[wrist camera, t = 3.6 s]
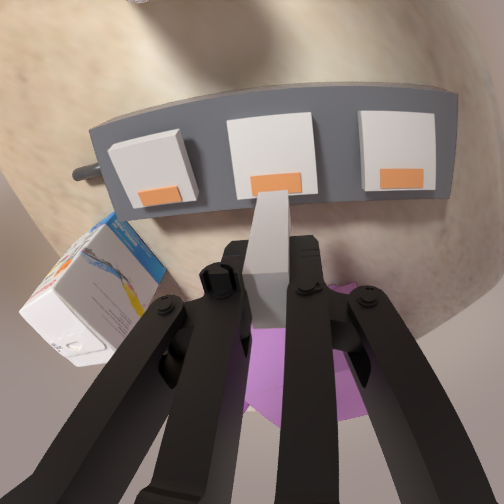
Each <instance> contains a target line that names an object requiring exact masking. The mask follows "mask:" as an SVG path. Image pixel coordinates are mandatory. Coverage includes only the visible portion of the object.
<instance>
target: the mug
mask: <svg viewBox="0 0 504 504" xmlns="http://www.w3.org/2000/svg"><path fill="white" fill-rule="evenodd" d="M127 1H129V2H132V3H138V4H139V3H144V2H147V1H149V0H127Z"/></svg>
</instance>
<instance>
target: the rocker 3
mask: <svg viewBox="0 0 504 504" xmlns="http://www.w3.org/2000/svg"><path fill="white" fill-rule="evenodd" d="M357 114H358V125H359V138H360V155H361V178H362V188H363V189H364V191H391V190H435V183H436V139H435V118H434V114H431V113H418V112H400V111H357Z"/></svg>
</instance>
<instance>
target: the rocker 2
mask: <svg viewBox="0 0 504 504" xmlns="http://www.w3.org/2000/svg"><path fill="white" fill-rule="evenodd" d="M227 129H228V136H229V143H230V151H231V158H232V165H233V172H234V180H235V187H236V194H237V200H240V199H251V198H257V197H258V192H268V191H280V190H288V196H289V195H303V194H318V187H317V172H316V160H315V148H314V137H313V127H312V117H311V112H304V113H290V114H278V115H268V116H259V117H250V118H242V119H234V120H227Z"/></svg>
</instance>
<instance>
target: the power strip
mask: <svg viewBox="0 0 504 504" xmlns="http://www.w3.org/2000/svg"><path fill="white" fill-rule="evenodd" d="M357 111H400V112H418V113H431V114H434V118H435V139H436V183H435V190H391V191H364V189H363V188H362V178H361V155H360V138H359V125H358V114H357ZM304 112H311V117H312V127H313V137H314V148H315V160H316V172H317V187H318V194H303V195H289V196H288V197H289V205H295V204H311V203H328V202H347V201H370V200H399V199H450V192H451V185H452V178H453V170H454V161H455V150H456V138H457V119H458V94H457V93H454V92H451V91H447V90H444V89H440V88H437V87H433V86H424V85H413V84H400V83H383V82H317V83H299V84H285V85H274V86H265V87H256V88H248V89H241V90H234V91H227V92H221V93H215V94H210V95H204V96H199V97H194V98H189V99H184V100H180V101H175V102H171V103H166V104H162V105H158V106H154V107H150V108H147V109H143V110H139V111H136V112H132V113H129V114H125V115H122V116H119V117H115V118H113V119H111V120H108V121H106V122H104V123H102V124H100V125H98V126H96V127H94V128H92V129H90V130H89V133H90V137H91V140H92V144H93V147H94V151H95V154H96V157H97V160H98V163H95V164H91V165H88V166H84V167H81V168H77V169H75V170H74V171H73V173H72V177H73V179H74V180H75V181H81V180H85V179H89V178H93V177H97V176H101V175H102V176H103V179H104V182H105V185H106V188H107V191H108V193H109V196H110V199H111V202H112V205H113V207H114V210H115V213H116V216H117V218H118V221H119V222H123V221H131V220H138V219H147V218H155V217H164V216H172V215H181V214H191V213H201V212H211V211H221V210H232V209H243V208H255V207H256V202H257V198H251V199H240V200H237V194H236V187H235V180H234V172H233V165H232V158H231V151H230V143H229V136H228V129H227V120H234V119H242V118H250V117H259V116H268V115H278V114H290V113H304ZM175 129H180V131H181V135H182V138H183V141H184V145H185V148H186V151H187V154H188V157H189V161H190V164H191V167H192V170H193V173H194V177H195V180H196V183H197V186H198V189H199V195H198V197H197V200H196V201H188V202H180V203H172V204H164V205H156V206H149V207H142V208H135V209H134V208H133V206H132V204H131V202H130V200H129V198H128V196H127V194H126V192H125V189H124V187H123V185H122V183H121V181H120V179H119V176H118V174H117V172H116V170H115V167H114V165H113V163H112V161H111V158H110V156H109V154H108V150H109V149H110V148H111V146H112V145H113V144H116V143H119V142H123V141H127V140H131V139H135V138H139V137H143V136H147V135H152V134H156V133H161V132H165V131H170V130H175Z"/></svg>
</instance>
